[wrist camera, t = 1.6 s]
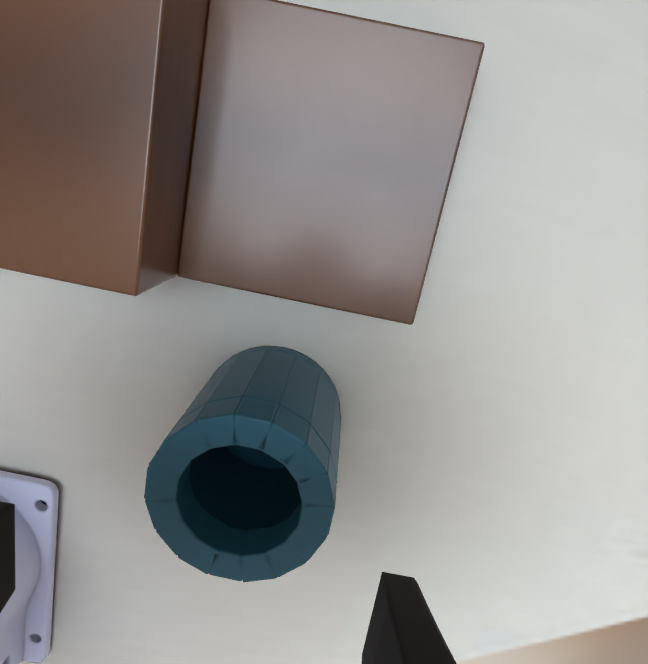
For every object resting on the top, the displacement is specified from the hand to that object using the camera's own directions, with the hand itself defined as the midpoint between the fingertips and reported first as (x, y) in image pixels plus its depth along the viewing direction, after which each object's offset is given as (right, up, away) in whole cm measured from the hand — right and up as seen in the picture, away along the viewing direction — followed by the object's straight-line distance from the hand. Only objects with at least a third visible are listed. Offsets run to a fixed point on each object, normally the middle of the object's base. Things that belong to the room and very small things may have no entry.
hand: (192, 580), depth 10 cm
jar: (0, +2, +10) cm, 10 cm away
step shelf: (-1, +11, +7) cm, 13 cm away
